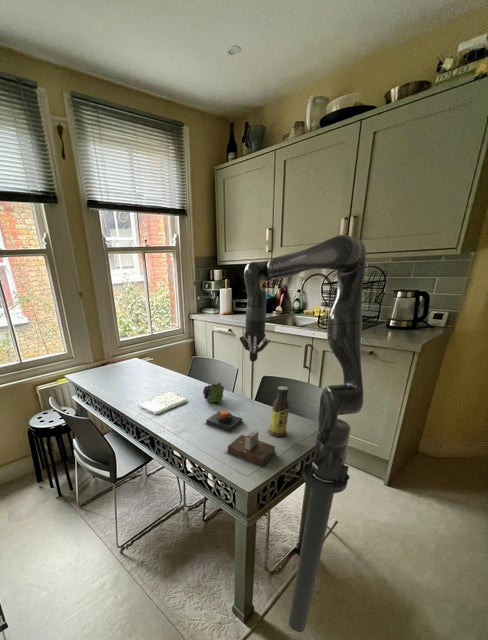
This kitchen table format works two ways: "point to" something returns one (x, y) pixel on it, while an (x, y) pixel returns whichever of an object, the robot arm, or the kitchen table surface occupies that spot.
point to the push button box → (224, 422)
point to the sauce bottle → (279, 412)
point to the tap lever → (251, 440)
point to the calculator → (163, 403)
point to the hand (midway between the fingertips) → (253, 360)
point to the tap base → (251, 451)
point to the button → (224, 414)
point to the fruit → (213, 392)
